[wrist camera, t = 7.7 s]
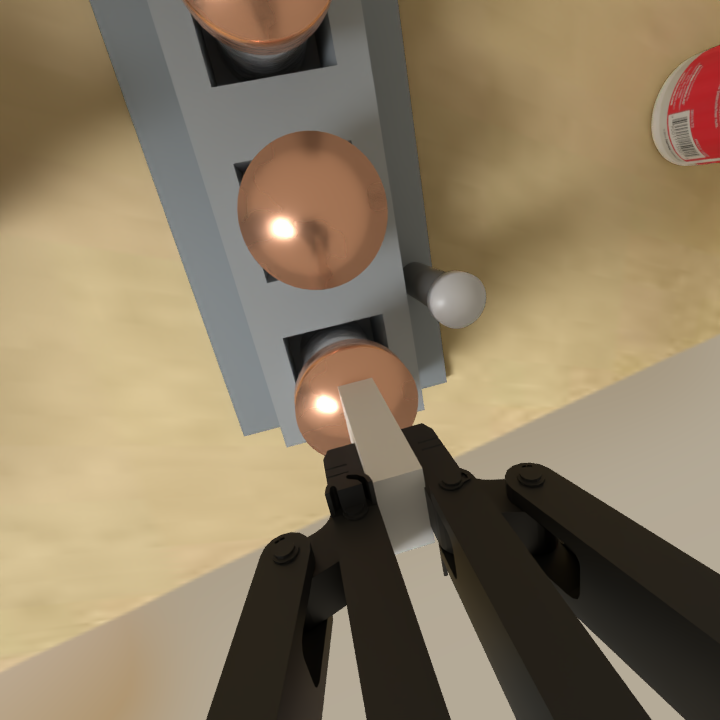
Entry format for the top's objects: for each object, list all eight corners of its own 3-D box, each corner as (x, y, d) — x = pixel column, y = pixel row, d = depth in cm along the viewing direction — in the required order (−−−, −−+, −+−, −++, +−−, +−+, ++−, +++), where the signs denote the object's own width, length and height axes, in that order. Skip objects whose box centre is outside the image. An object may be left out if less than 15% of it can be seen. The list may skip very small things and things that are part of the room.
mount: (244, 431, 27) (237, 477, 22) (75, -50, 18) (3, -142, 13) (443, 378, 29) (475, 411, 24) (381, -93, 19) (413, -188, 15)
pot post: (397, 303, 25) (436, 334, 19) (390, 262, 24) (429, 279, 18) (436, 294, 26) (488, 321, 19) (431, 252, 25) (484, 266, 18)
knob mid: (267, 273, 23) (262, 304, 15) (238, 170, 21) (216, 147, 13) (359, 252, 24) (398, 272, 16) (339, 150, 22) (373, 116, 14)
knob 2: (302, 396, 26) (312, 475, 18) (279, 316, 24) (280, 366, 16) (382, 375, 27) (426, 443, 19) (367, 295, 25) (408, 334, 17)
